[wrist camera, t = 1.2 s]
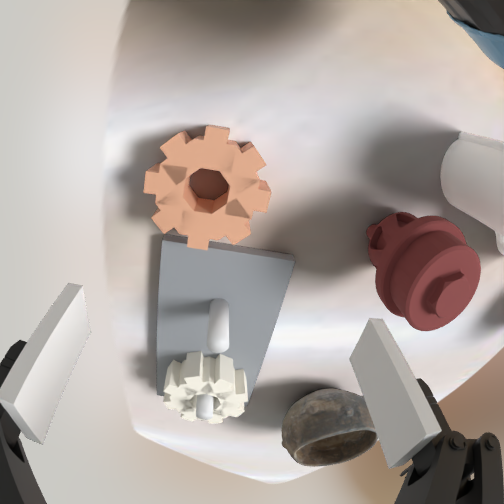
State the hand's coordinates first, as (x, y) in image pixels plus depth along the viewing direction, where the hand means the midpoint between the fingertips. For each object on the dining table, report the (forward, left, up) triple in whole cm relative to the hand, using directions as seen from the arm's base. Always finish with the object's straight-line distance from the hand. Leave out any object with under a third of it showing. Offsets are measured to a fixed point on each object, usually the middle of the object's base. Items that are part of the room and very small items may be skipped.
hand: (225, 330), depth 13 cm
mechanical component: (0, +18, -18) cm, 25 cm away
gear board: (+16, +1, -17) cm, 23 cm away
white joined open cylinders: (-8, +34, -18) cm, 39 cm away
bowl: (+28, +20, -18) cm, 38 cm away
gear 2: (+22, +1, -16) cm, 27 cm away
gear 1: (-2, -2, -17) cm, 18 cm away
